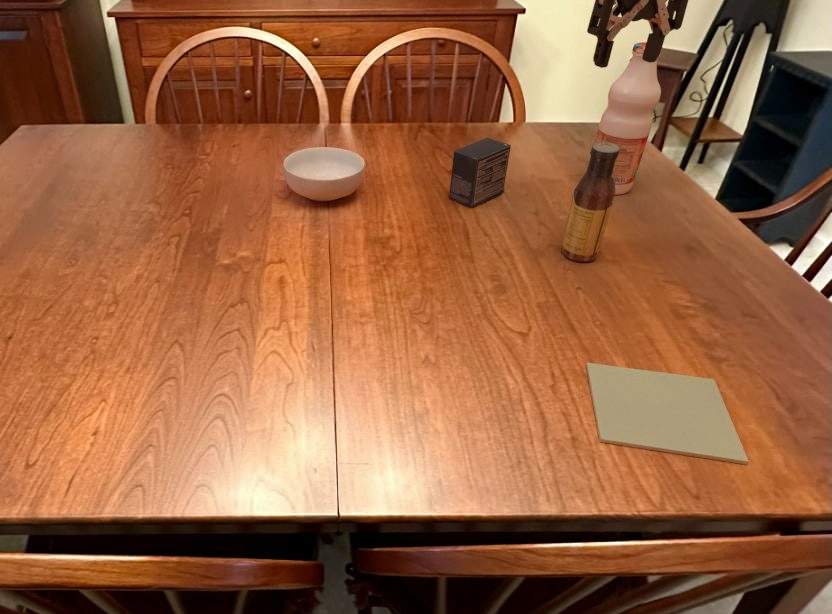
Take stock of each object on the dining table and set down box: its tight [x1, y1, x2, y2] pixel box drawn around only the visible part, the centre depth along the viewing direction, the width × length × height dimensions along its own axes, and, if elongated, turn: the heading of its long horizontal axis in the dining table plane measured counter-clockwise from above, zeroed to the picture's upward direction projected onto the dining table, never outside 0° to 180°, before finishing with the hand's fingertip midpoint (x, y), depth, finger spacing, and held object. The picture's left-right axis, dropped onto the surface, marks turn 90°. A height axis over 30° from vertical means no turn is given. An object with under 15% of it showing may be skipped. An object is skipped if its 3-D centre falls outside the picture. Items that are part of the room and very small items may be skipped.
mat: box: [585, 362, 750, 465], centre depth 76 cm, size 16×14×1 cm
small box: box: [448, 137, 512, 209], centre depth 122 cm, size 11×6×10 cm, turn 130°
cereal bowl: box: [282, 146, 366, 203], centre depth 125 cm, size 17×17×7 cm
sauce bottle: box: [561, 142, 620, 263], centre depth 100 cm, size 7×6×20 cm
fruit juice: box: [587, 41, 663, 196], centre depth 119 cm, size 9×9×28 cm
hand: (624, 63), depth 90 cm, fingers open, 8 cm apart
